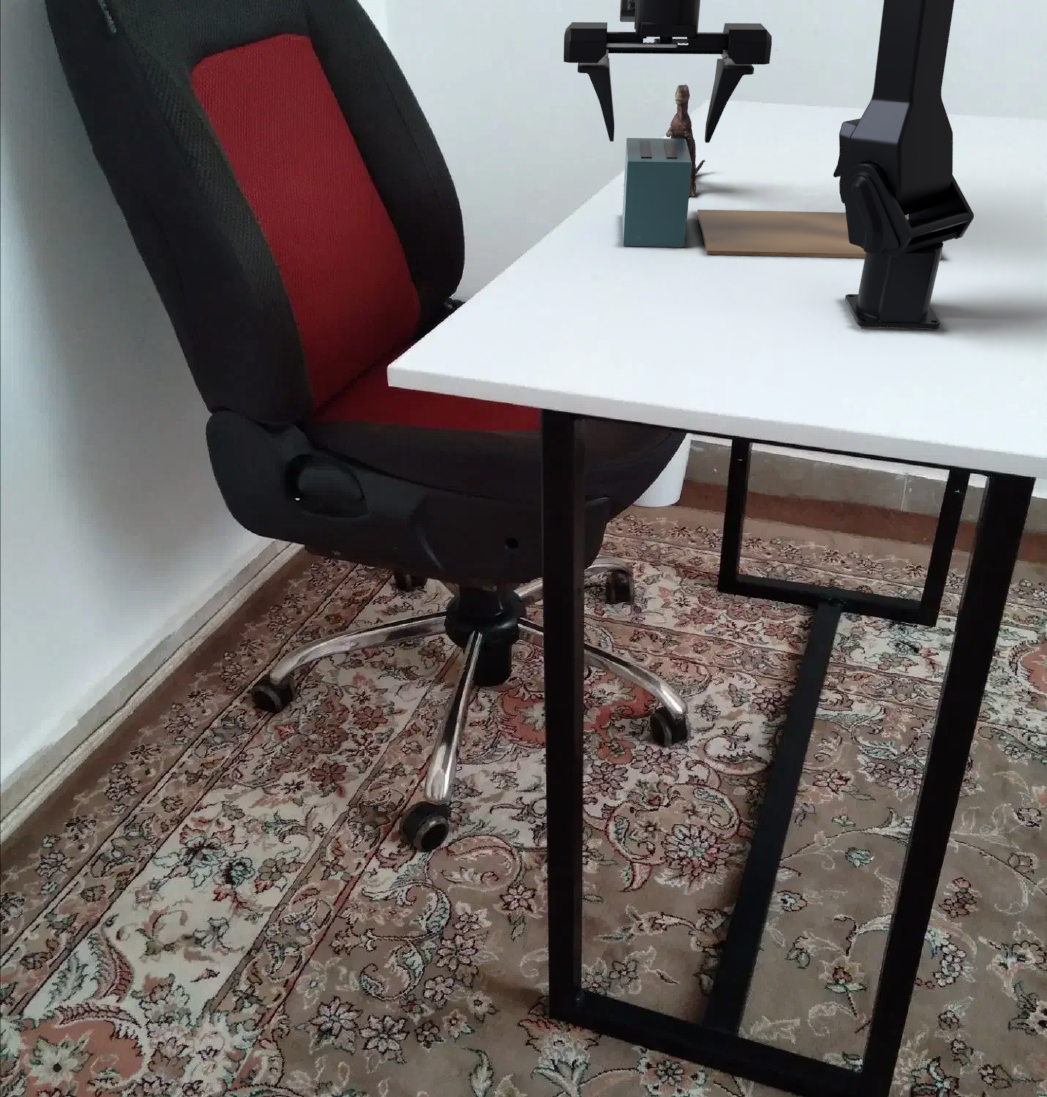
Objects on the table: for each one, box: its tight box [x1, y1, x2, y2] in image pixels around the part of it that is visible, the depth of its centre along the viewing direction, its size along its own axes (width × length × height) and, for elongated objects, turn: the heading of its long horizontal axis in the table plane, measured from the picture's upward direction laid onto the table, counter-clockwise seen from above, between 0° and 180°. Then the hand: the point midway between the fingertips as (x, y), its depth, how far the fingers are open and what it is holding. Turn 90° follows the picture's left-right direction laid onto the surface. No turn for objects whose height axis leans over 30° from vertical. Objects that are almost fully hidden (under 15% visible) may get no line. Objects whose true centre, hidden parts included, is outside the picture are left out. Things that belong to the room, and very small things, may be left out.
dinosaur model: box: [665, 83, 706, 197], centre depth 117 cm, size 4×12×15 cm
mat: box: [696, 209, 943, 261], centre depth 104 cm, size 14×22×1 cm, turn 86°
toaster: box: [621, 137, 692, 248], centre depth 103 cm, size 11×6×8 cm, turn 176°
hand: (659, 141), depth 100 cm, fingers open, 9 cm apart
